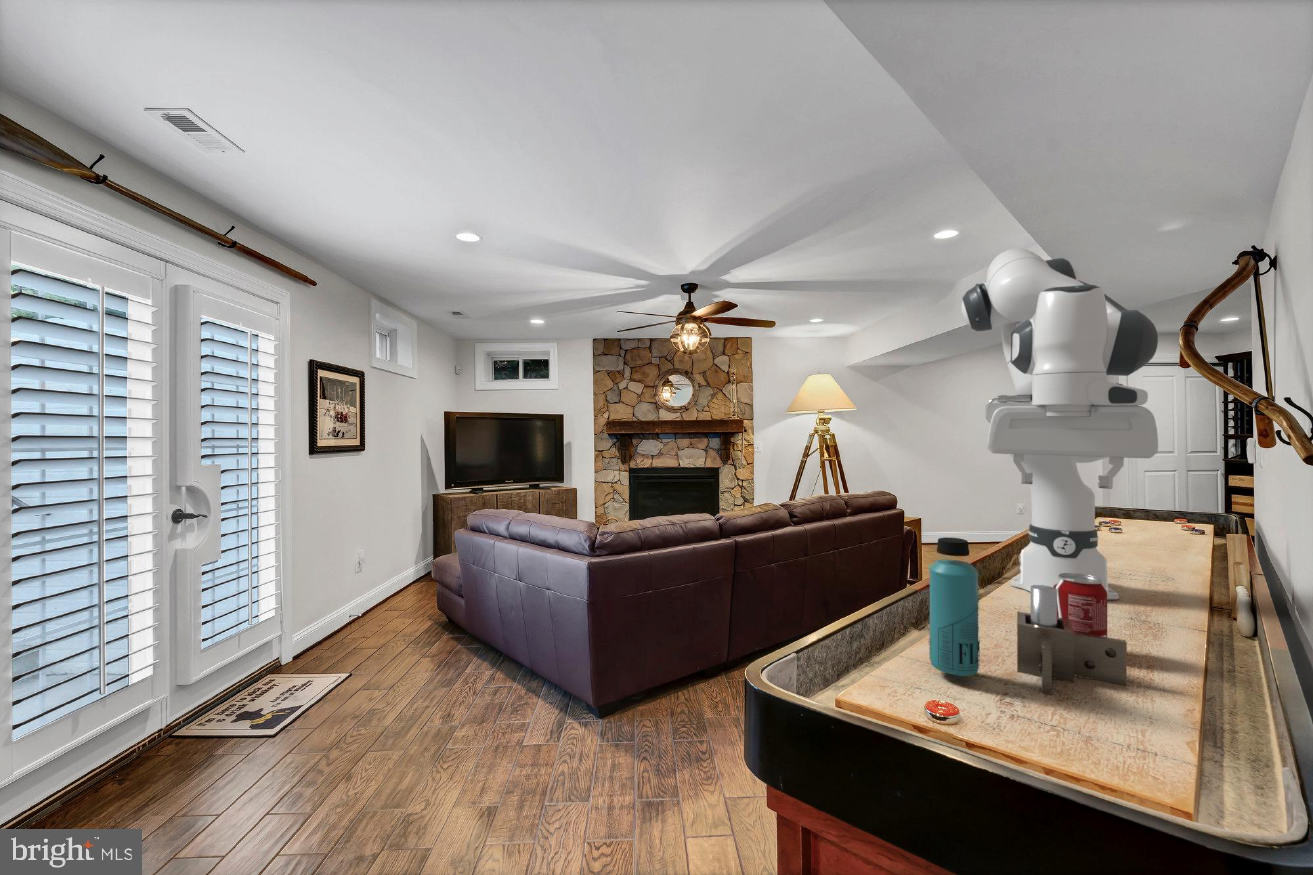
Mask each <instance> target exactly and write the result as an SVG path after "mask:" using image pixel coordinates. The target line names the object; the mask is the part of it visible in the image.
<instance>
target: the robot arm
mask: <svg viewBox="0 0 1313 875" xmlns="http://www.w3.org/2000/svg"><path fill="white" fill-rule="evenodd" d="M985 279H986V281H985V282H983V283H976V284H975V285H974V286H973V287H972V288H970V289H968V290H967V291H966V292H965V294H964V295H963V296H962V302H961V308H960V309H961V310H960V311H961V315H962V317H963V319H964V321H965V323H967V325H968V326H969V327H970V328H971V330H974V331H976V332H985V331H991V330H993V328H994V329H995V328H999V327H1002V328H1001V340H1002V349H1003V354H1004V359H1005V362H1006V365H1007V366H1006V367H1007V369H1008V372H1009V376H1010V378H1011V381H1012V384H1013V387H1014V391H1015V395H1007V394H1002V395H1000V394H999V395H997V396H996V397H994V398H992V399H990V400H989V401H988V402H987V404H985V405H986V406H985V419H986V421H987V422H988V423H989V428H988V435H987V443H986V444H987V445H986V447H987V450H988V451H989V452H990V453H991V454H994V455H995V454H999V455H1000V454H1001V455H1009V456H1011V457H1012V459H1013V463H1014V465H1015V466H1016V468H1017V469H1018V471H1019V472H1020V475H1021V476H1020V484H1022V485H1029V486H1028V487H1029V491H1030V506H1031V507H1030V508H1031V510H1030V511H1031V523H1030V524H1029V527H1028V528H1029V529H1028V540H1029V541H1030V542H1029V544H1027V546H1025V547H1024V548H1023V549H1021V552H1020V553H1019V564H1020V566H1019V572H1020V573H1018V574H1017V575H1016V576H1015V577H1014V578H1012V579H1011V580H1010V584H1009V585H1010V586H1012V587H1016V588H1020V589H1023V590H1026V591H1028V592H1030V593H1031V586H1032V585H1044V586H1050V587H1053V586H1054V584H1055V582H1056V581H1057V580H1058V579H1059V577H1058V575H1059V574H1061V573H1077V574H1085V575H1090V576H1094V577H1097V578H1100V579H1101V580H1102V583H1101V584H1102V586H1103V587H1104V588H1105V590H1106V591H1107V600H1119V599H1120V595H1119V593H1118V592H1116V591H1115V590H1113V589H1112V588H1111V587H1110V586H1109V582H1108V581H1109V580H1108V559H1107V557H1105V556H1104V555H1103V554H1102V553H1101V552H1100V551H1099V550H1098V549H1097V547H1099V544H1098V543H1099V535H1098V530H1097V529H1096V526H1095V525H1096V518H1095V517H1096V496H1095V493H1094V492H1093V490H1092V489H1091V487H1089V486H1088V485H1086V484H1085V483H1084V481H1083V480H1082V478H1081V476H1080V474H1079V473H1080V472H1079V471H1078V468H1077V464H1082V463H1083V464H1084V463H1087V464H1088V463H1093V462H1097V461H1101V460H1104V459H1106V458H1108V464H1109V465H1111V468H1110V469H1109V470H1108V471H1107V473H1106V474H1105V475H1104V474H1103V475H1101V474H1100V475H1098V479H1097V480H1098V482H1097V487H1098V488H1099V489H1106V490H1113V485H1114V484H1113V483H1114V477H1115V476H1116V475H1117V474H1118V473H1119V472H1120V471H1121V469H1122V468H1123V467H1124V461H1125V459H1126V458H1127V459H1151V458H1153V457H1154V456H1156V454H1157V453H1158V451H1159V436H1158V434H1159V433H1158V428H1157V422H1156V419H1155V418H1156V417H1155V416H1154V414H1153V412H1152V411H1151V410H1150V409H1149V408H1148V407H1145V406H1143V405H1145V404H1146V403H1147V402H1148V397H1149V395H1148V391H1147V390H1144V389H1142V388H1138V387H1132V386H1127V385H1124V384H1123V383H1118V382H1117V383H1116V382H1115V383H1114V382H1110V381H1108V380H1107V376H1121V377H1122V376H1123V377H1125V376H1126V377H1127V376H1130V375H1132V374H1133V373H1135V372H1137V371H1139V370H1140V369H1142V368H1143V367H1144V366H1145V365H1147V364H1148V363H1149V362H1150V361H1151V360H1152V359H1153V358H1154V356H1155V355H1156V352H1157V348H1158V345H1159V344H1158V343H1159V337H1158V336H1159V335H1158V331H1157V328H1156V326H1155V324H1154V322H1153V321H1152V320H1151V319H1150V318H1149V317H1148V316H1147V315H1146V314H1144V313H1143V312H1141V311H1140V310H1138V309H1132V310H1131V309H1127V308H1125V307H1124V306H1122V305H1121V304H1119V303H1118V302H1117V301H1116V300H1114V299H1113V298H1111V297H1109V296H1108V295H1107V294H1105V292H1104V289H1103V287H1100V286H1098V285H1095V284H1089V283H1087V282H1084V281H1082V280H1080V276H1079V273H1078V271H1077V270H1076V268H1075V267H1074V266H1073V265H1072V263H1071V262H1070V261H1069V260H1068V259H1066V258H1062V257H1059V258H1058V257H1057V258H1052V259H1047V260H1045V259H1043V258H1042V257H1041V256H1040V255H1038V254H1037V253H1036V252H1034V251H1032V250H1028V249H1025V248H1020V247H1018V248H1017V247H1016V248H1010V249H1008V250H1004V251H1003V252H1001V253H1000V254H997V255H996V257H995V258H993V260H992V261H991V263H990V264H989V266H988V268H987V271H986V278H985ZM996 401H997V402H996Z"/></svg>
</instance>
